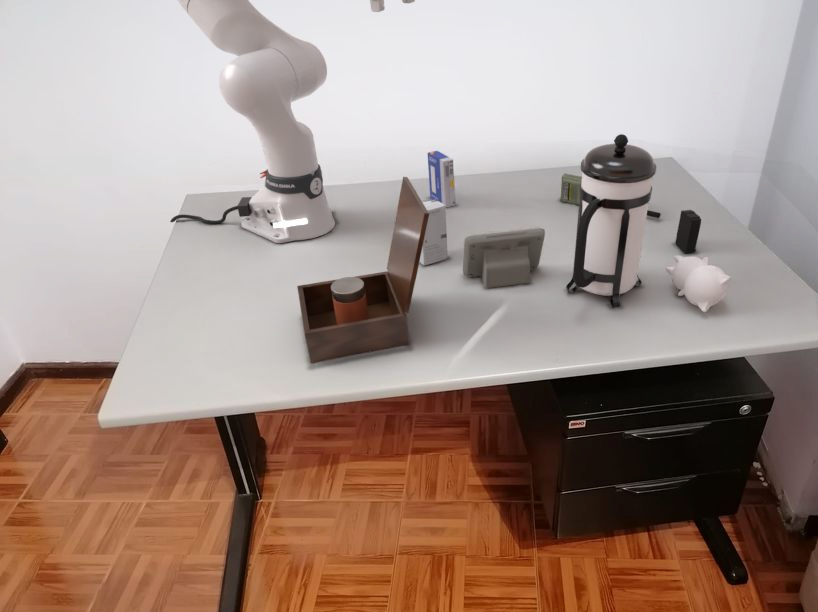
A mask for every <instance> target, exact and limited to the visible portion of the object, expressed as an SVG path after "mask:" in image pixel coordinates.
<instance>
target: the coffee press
mask: <svg viewBox="0 0 818 612" xmlns="http://www.w3.org/2000/svg"><path fill="white" fill-rule="evenodd" d="M613 142H614V143H608V144H602V145H598V146H596V147H594V148H592V149H591V150H589V151H588V152H587V153H586V154H585V157H584V158H583V159H582V160H581V161H580V171H581V177H582V181H581V183H580V191H579V195H580V202H579V205H578V213H577V225H576V234H575V235H576V236H575V248H574V258H573V268H572V269H573V270H572V277H571V279H570V281H569V282H568V283H567V284H566V286H565V289H566V291H567V292H568V294H574V293H576V292H577V291H578V290H579V289H582V290H584V291H585V292H587V293H590V294H593V295H597V296H605V297H606V296H607V297H608V298H609V302H610V307H611V308H618V307H619V308H620V307H621V296H620V295H622V294H625V293H627V292H629V291H630V290H631V289H633V288H634V287H635V288H638V287H640V286H641V285H642V279H640V277H639V274H638V273H639V268H640V262H641V255H642V248H643V241H644V235H645V229H646V222H647V217H648V216H647V210H648V209H649V204H650V203H649V202H650V201H651V199H652V192H653V186H652V184H653V177H654V176H655V175H656V173H657V165H656V162H654V157H653V156H652V155H651V154H650V153H649V152H648V151H647V150H645V149H644V148H642V147H639V146H637V145H633V144H628V143H629V139H628V136H627V135H625V134H623V133H622V134H621V133H620V134H618V135H617V136H615V137H614V140H613ZM574 284H575V285H574ZM572 286H573V287H572Z"/></svg>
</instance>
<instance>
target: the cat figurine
mask: <svg viewBox="0 0 818 612" xmlns="http://www.w3.org/2000/svg"><path fill="white" fill-rule="evenodd" d="M673 259H674V260H673V261H675V263H676V264H675V266H672V265H671V266H667V267H666V268H665V271H666V273H668V274H669V275H670V276H671V281H672V283H673V285H674V287H675V288H676V289H678V290H680V291H679V292H678V293H677V295H678V296H679V297H683V296H685V298H686V300H687V301H688V302H689V303H690V304H691V305H693V306H695V307H698V308H699V309H700V310H701V311H702V312H703V313H707V312H708V311H709V309H710V308H711V307H712V306H715V305H717V304H718V303H720V302H721V301H722V300H723V299H724V298H725V296H726V295H727V292H728V288H729V282H730V281H731V279H732V276H729V275H727V274H726V273H725V271H724V270H723V269H721V268H720V267H719V266H717V265H716V266H715V265H713V264H708V263H709V258H708V256H703V258H702V259H701V258H699V257H698V256H687V257H685V256H681V255H679V254H677V255H674V256H673Z"/></svg>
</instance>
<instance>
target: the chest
mask: <svg viewBox="0 0 818 612" xmlns="http://www.w3.org/2000/svg"><path fill="white" fill-rule="evenodd" d="M354 277H356V278H359V279H361V280H362V281H363V282H364V288H365V293H366V300H367V307H368V315H369V319H368V320H362V321H356V322H351V323H345V324H340V325H337V321H336V316H335V310H334V304H333V298H332V291H331V285H332V283H333V282H335V281H336V280H338V279H339V278H338V279H331V280H324V281H319V282H313V283H307V284H300V285H297V286H296V287H297V294H298V300H299V301H298V302H299V307H300V313H301V320H302V325H303V326H302V327H303V333H304V337H305V342H306V347H307V351H308V356H309V361H310V364H314V363H319V362H325V361H331V360H335V359H341V358H345V357H353V356H357V355H361V354H367V353H372V352H377V351H382V350H383V351H384V350H388V349H393V348H399V347H404V346H409V345H410V337H409V327H408V316H407V313H404V311H403V308H402V306H401V303H400V301H399V298H398V296H397V293H396V291H395V288H394V286H393V283H392V281H391V278H390V276H389V273H388V271H387V270H386V271H381V272H373V273H369V274H362V275H356V276H354Z"/></svg>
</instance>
